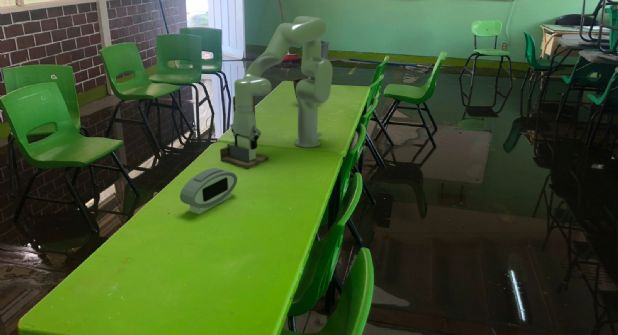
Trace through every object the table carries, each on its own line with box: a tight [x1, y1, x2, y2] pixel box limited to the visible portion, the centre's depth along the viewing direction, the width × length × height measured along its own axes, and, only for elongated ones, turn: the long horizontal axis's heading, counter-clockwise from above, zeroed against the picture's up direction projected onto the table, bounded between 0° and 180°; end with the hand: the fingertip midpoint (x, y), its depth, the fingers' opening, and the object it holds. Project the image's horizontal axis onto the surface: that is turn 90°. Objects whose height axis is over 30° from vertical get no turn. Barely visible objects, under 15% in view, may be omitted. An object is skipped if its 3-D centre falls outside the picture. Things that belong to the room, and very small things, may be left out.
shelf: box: [219, 143, 270, 170], centre depth 212 cm, size 14×16×8 cm
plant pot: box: [292, 78, 315, 103], centre depth 297 cm, size 15×15×16 cm
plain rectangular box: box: [237, 135, 257, 161], centre depth 210 cm, size 4×7×10 cm, turn 53°
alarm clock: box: [179, 167, 238, 215], centre depth 171 cm, size 23×6×13 cm, turn 148°
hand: (245, 146), depth 210 cm, fingers open, 9 cm apart
